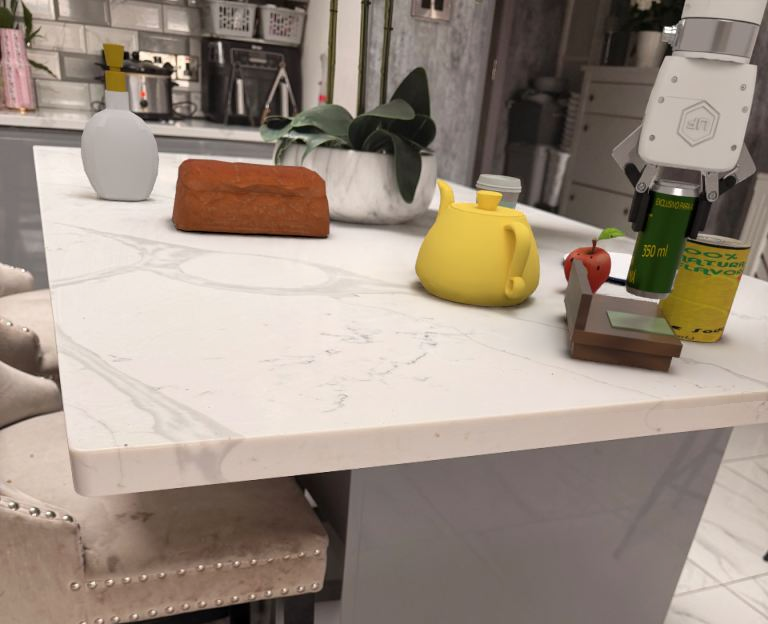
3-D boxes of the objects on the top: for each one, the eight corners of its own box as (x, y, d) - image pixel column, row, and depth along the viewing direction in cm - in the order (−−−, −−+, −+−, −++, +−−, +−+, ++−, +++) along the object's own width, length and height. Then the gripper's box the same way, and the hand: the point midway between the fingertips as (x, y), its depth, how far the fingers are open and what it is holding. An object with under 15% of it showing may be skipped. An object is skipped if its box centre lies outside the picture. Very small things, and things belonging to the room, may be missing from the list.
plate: (544, 269, 130) (545, 262, 129) (581, 251, 150) (583, 244, 149) (694, 300, 121) (696, 292, 120) (713, 276, 141) (715, 269, 140)
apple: (575, 300, 112) (591, 230, 108) (550, 288, 118) (564, 220, 113) (617, 300, 115) (634, 231, 110) (590, 289, 121) (606, 222, 116)
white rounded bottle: (154, 196, 156) (147, 47, 143) (165, 203, 149) (159, 48, 136) (80, 193, 149) (66, 38, 136) (88, 201, 143) (74, 39, 130)
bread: (169, 216, 138) (167, 152, 133) (313, 223, 147) (316, 163, 141) (178, 233, 125) (176, 163, 120) (334, 240, 134) (339, 175, 129)
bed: (649, 328, 103) (665, 271, 99) (674, 375, 86) (694, 309, 82) (560, 315, 104) (573, 259, 100) (566, 359, 87) (582, 293, 83)
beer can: (666, 291, 91) (696, 183, 85) (674, 302, 86) (707, 188, 80) (620, 285, 91) (648, 177, 85) (626, 296, 86) (655, 182, 81)
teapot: (379, 269, 117) (388, 173, 110) (476, 270, 125) (490, 179, 118) (461, 316, 98) (478, 203, 91) (570, 313, 105) (593, 208, 99)
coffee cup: (510, 252, 142) (523, 182, 136) (465, 245, 143) (475, 176, 137) (512, 244, 149) (523, 178, 143) (468, 238, 150) (478, 172, 144)
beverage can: (727, 346, 99) (759, 250, 93) (657, 335, 100) (684, 240, 94) (713, 327, 107) (741, 238, 101) (648, 318, 108) (672, 229, 102)
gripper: (631, 33, 74) (588, 228, 83) (814, 52, 72) (749, 250, 81) (623, 38, 80) (583, 219, 89) (790, 56, 79) (733, 238, 88)
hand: (663, 232), depth 85 cm, fingers closed on beer can, 5 cm apart
